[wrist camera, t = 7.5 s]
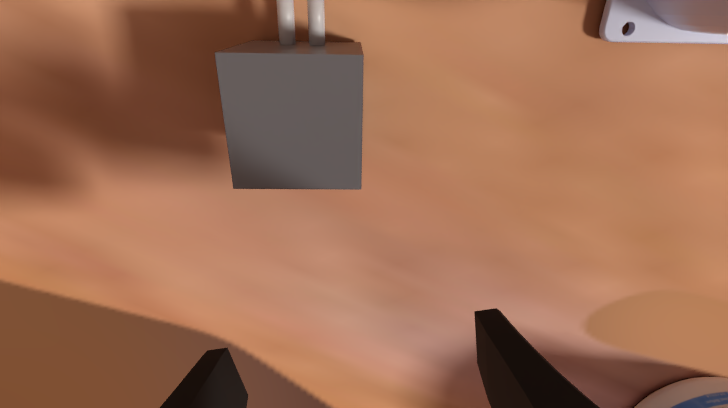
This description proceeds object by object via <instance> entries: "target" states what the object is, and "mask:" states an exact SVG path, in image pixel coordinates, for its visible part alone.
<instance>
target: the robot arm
mask: <svg viewBox="0 0 728 408" xmlns="http://www.w3.org/2000/svg"><path fill="white" fill-rule="evenodd" d="M627 22H628V24H629V29H628V31H627V33H625V34H624V35H623V33H622V28H623V26H624V25H625V24H626V23H627ZM599 35H600V37H601V38H602V39H603V40H604V41H609V42H645V43H700V44H728V0H606V4H605V8H604V12H603V16H602V20H601V24H600V28H599ZM475 328H476V346H477V363H478V367H479V370H480V374H481V377H482V380H483V384H484V387H485V390H486V394H487V397H488V400H489V403H490V405H491V408H599V407H598V406H597V405H596V404H595V403H593V402H592V401H591V400H590V399H589V398H587V397H586V396H585V395H584V394H583V393H582V392H580V391H579V390H578V389H577V388H576V387H575V386H574V385H572V384H571V383H570V382H569V381H568V380H567V379H566V378H565V377H564V376H562V375H561V374H560V373H559V372H558V371H557V370H556V369H555V368H554V367H553V366H552V365H551V364H550V363H549V362H548V361H547V360H546V359H545V358H544V357H543V356H541V355H540V354H539V353H538V352H537V351H536V350H535V349H534V348H533V347H532V346H531V345H530V343H529V342H528V341H527V340H526V339H525V338H524V337H523V336H522V335H521V334H520V333H519V332H518V331H517V330H516V329H515V327H514V326H513V325H512V324H511V323H510V322H509V321H508V320H507V318H506V317H505V316H504V315H503V314H502V313H501V311H499V310H498V309H489V310H482V311H475ZM247 400H248V394H247V391H246V389H245V387H244V385H243V382H242V380H241V378H240V375H239V373H238V371H237V369H236V366H235V364H234V362H233V359H232V357H231V355H230V353H229V350H228V348H222V349H215V350H209V351H207V352H206V353H205V354H204V355H203V356H202V357H201V359H200V360H199V361H198V362H197V363H196V365H195V366H194V367H193V368H192V369H191V371H190V372H189V373H188V374H187V376H186V377H185V378H184V379H183V380H182V382H181V383H180V384H179V386H178V387H177V388H176V389H175V390H174V391H173V393H172V394H171V395H170V396H169V397H168V399H167V400H166V401H165V402H164V403H163V404H162V406H161V407H160V408H246V406H247Z"/></svg>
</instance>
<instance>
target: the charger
mask: <svg viewBox="0 0 728 408" xmlns="http://www.w3.org/2000/svg"><path fill="white" fill-rule="evenodd" d="M276 2H277V16H278V30H279V41H258V40H253V41H249V42H246V43H243V44H240V45H237V46H233V47H230V48H227V49H224V50H221V51H218V52H215V59H216V66H217V74H218V81H219V88H220V95H221V102H222V110H223V117H224V124H225V131H226V138H227V146H228V153H229V160H230V167H231V174H232V182H233V189H361V173H362V113H363V51H362V47H361V42H325V13H324V0H307V4H308V29H309V41H296V39H295V20H294V1H293V0H276Z"/></svg>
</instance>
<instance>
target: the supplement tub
mask: <svg viewBox="0 0 728 408" xmlns="http://www.w3.org/2000/svg"><path fill="white" fill-rule="evenodd" d="M634 408H728V378H725V377H697V378H690V379H686V380H682V381H678V382H675V383H673V384H670V385H668V386H665V387H663V388H661V389H659V390H657V391H655V392H654V393H652V394H650V395H649V396H647V397H646V398H645V399H643V400H642V401H641V402H640V403H639V404H637V405H636V406H635V407H634Z"/></svg>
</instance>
